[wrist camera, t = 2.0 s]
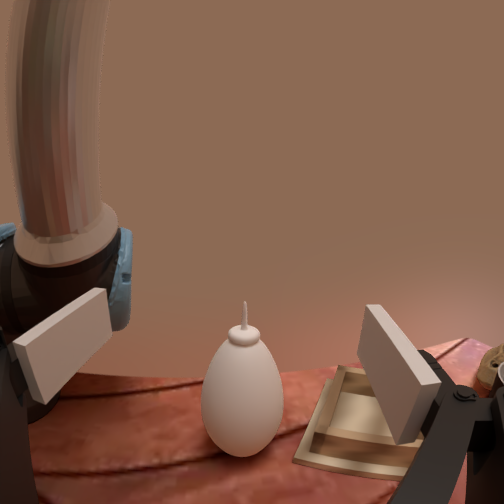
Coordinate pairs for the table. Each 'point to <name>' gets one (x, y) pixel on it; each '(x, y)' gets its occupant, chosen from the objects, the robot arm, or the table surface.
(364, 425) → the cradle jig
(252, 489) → the table surface
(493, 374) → the oil lamp
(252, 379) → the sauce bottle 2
